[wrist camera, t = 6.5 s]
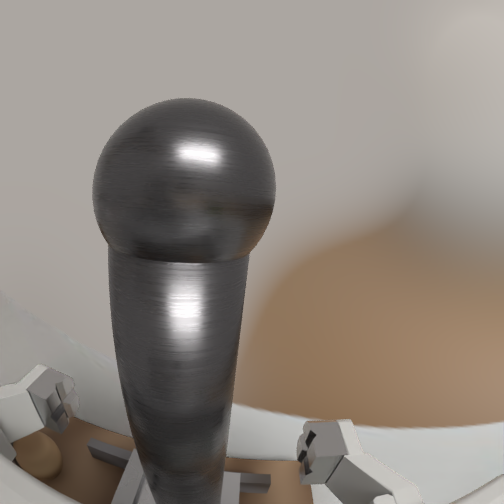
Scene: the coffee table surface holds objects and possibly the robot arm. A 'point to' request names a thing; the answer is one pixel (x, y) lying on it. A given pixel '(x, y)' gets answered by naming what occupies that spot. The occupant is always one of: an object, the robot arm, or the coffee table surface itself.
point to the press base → (115, 461)
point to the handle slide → (180, 287)
